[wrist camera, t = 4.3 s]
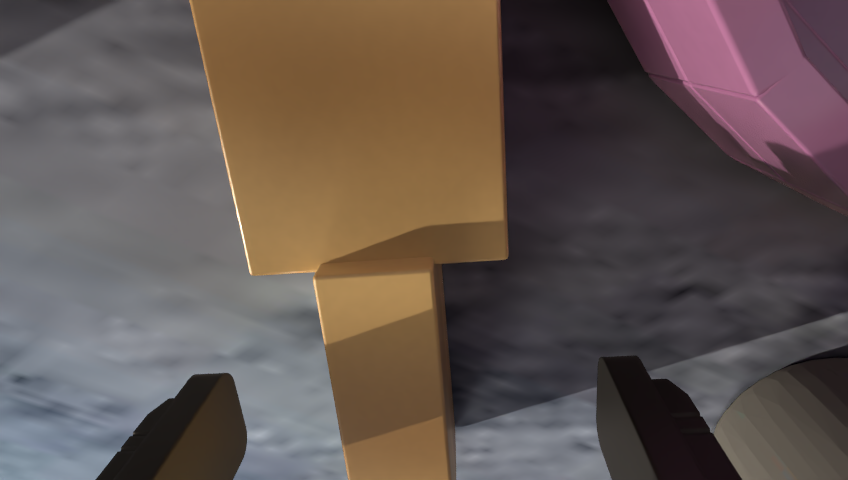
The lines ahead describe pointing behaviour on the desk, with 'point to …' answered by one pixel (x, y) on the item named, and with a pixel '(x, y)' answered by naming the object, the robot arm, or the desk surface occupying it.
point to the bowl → (756, 81)
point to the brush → (367, 190)
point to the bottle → (791, 424)
